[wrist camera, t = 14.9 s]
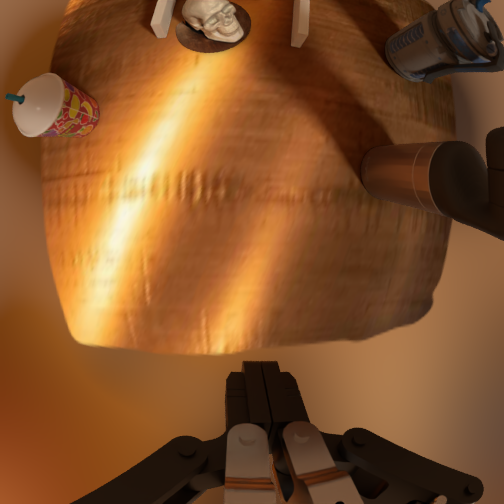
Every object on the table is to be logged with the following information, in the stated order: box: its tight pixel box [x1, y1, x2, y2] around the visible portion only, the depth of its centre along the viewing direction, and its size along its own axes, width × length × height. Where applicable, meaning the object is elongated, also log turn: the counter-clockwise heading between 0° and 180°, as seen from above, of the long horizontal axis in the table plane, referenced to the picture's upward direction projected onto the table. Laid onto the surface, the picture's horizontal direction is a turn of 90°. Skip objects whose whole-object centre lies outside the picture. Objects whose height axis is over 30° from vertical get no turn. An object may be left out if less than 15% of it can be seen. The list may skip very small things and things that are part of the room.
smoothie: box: [5, 73, 100, 138], centre depth 25 cm, size 8×8×20 cm
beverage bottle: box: [385, 0, 504, 84], centre depth 24 cm, size 10×13×25 cm
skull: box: [176, 0, 251, 53], centre depth 31 cm, size 12×10×10 cm
